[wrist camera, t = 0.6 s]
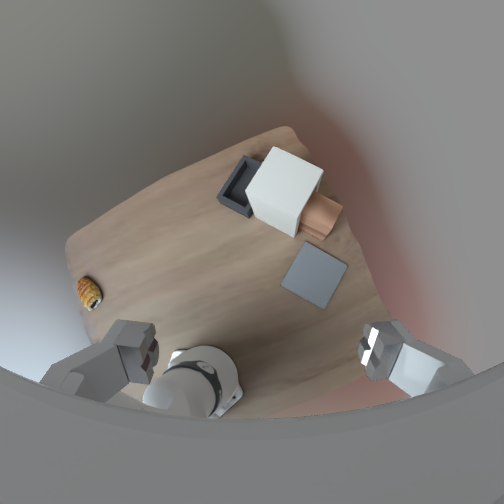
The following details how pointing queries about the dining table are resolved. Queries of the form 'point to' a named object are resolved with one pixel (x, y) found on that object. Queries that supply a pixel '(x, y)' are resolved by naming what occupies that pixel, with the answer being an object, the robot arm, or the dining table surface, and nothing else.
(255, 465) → the robot arm
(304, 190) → the white arch frame
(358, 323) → the dining table surface
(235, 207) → the bin
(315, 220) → the block
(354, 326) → the dining table surface
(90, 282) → the pastry
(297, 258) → the mat
